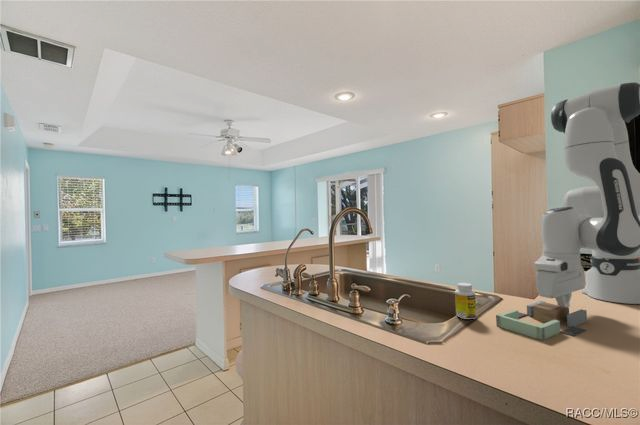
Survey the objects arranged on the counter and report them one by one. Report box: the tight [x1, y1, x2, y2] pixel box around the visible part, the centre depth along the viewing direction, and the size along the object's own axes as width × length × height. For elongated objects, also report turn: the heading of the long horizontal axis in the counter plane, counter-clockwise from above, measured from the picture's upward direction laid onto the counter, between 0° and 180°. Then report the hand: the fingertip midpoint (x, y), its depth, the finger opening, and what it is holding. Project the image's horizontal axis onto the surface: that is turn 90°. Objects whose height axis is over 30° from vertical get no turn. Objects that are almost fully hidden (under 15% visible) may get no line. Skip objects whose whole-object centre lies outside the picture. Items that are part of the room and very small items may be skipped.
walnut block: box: [533, 302, 570, 325], centre depth 85 cm, size 6×6×4 cm
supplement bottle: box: [454, 282, 477, 320], centre depth 90 cm, size 6×6×10 cm
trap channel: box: [495, 300, 588, 341], centre depth 83 cm, size 23×17×3 cm
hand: (563, 307), depth 89 cm, fingers closed
